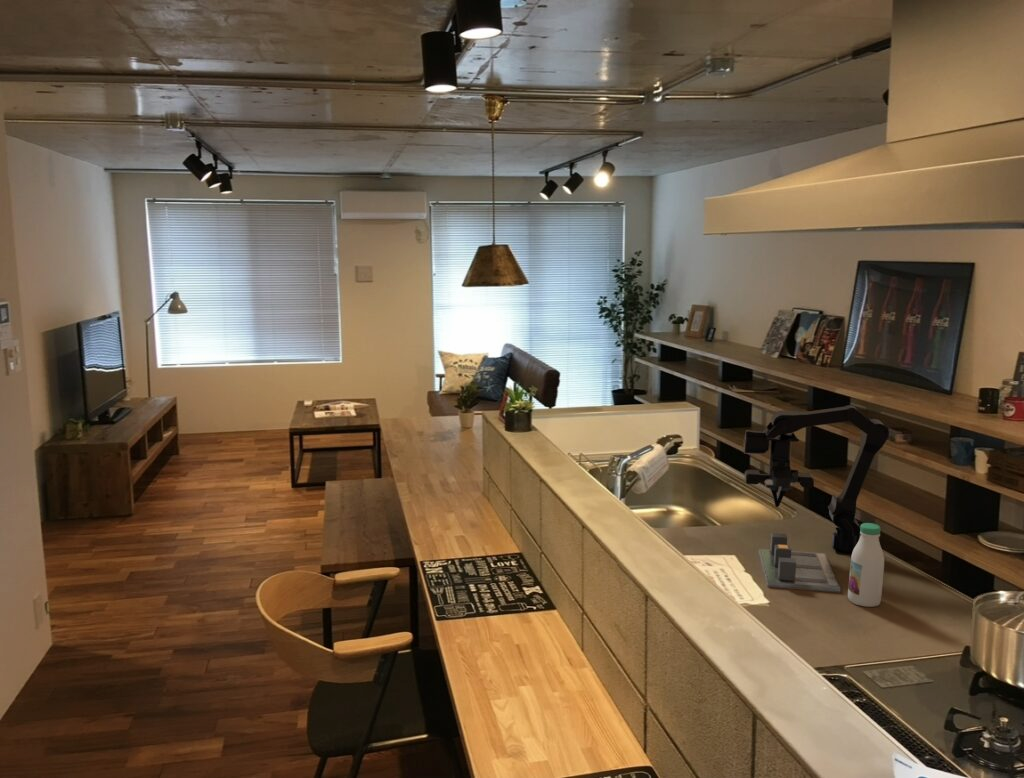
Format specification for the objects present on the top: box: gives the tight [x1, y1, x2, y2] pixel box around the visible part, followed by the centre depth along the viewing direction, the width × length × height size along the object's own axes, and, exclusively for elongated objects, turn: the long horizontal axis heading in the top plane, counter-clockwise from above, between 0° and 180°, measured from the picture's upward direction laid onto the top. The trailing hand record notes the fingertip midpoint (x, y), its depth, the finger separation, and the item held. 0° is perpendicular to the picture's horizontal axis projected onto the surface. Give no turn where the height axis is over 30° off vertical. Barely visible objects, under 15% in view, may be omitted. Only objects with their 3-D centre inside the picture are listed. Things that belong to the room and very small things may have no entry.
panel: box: [758, 548, 841, 593], centre depth 229 cm, size 18×23×2 cm
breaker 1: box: [769, 532, 788, 554], centre depth 238 cm, size 4×3×5 cm
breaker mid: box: [774, 544, 792, 566], centre depth 229 cm, size 4×3×5 cm
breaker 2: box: [778, 557, 796, 581], centre depth 221 cm, size 4×3×5 cm
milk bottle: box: [847, 522, 885, 608], centre depth 209 cm, size 8×8×20 cm
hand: (776, 506), depth 245 cm, fingers closed
